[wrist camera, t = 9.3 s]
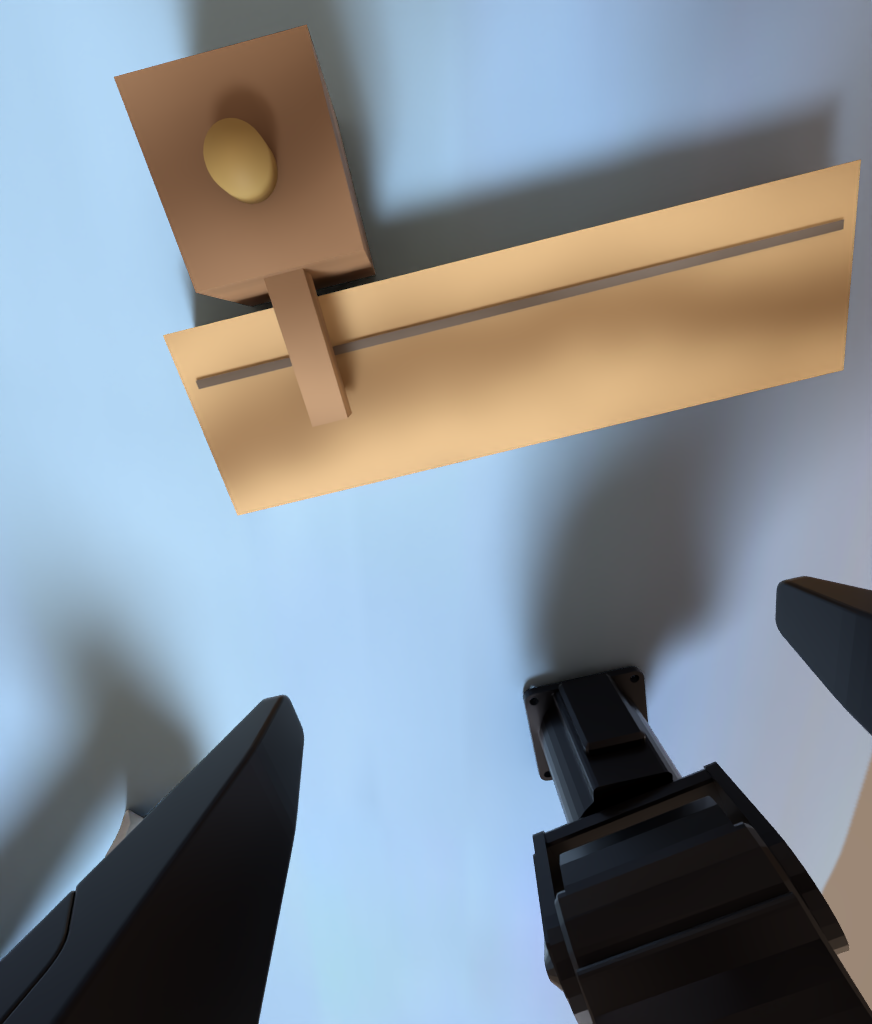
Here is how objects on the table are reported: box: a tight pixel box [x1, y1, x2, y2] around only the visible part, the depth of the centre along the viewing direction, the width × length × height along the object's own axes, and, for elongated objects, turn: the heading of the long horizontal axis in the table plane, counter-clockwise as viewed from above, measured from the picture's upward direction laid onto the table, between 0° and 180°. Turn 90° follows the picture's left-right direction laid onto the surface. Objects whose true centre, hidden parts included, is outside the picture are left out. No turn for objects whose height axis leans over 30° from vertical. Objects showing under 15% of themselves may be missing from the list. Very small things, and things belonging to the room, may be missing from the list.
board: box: [163, 160, 861, 515], centre depth 18 cm, size 7×24×3 cm, turn 103°
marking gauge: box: [114, 25, 376, 427], centre depth 15 cm, size 10×5×6 cm, turn 13°
